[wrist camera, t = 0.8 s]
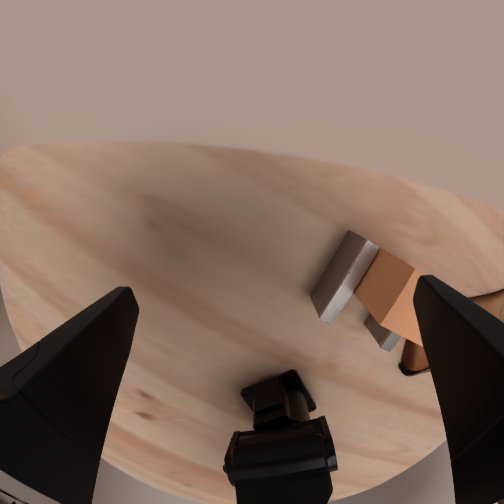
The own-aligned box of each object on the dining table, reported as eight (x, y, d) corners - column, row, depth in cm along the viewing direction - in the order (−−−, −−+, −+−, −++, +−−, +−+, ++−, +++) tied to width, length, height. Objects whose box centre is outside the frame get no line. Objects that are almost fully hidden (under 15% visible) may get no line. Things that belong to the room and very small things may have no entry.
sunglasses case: (513, 282, 26) (534, 323, 21) (490, 314, 31) (506, 352, 26) (408, 302, 27) (428, 359, 22) (388, 336, 32) (402, 386, 27)
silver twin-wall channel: (371, 327, 27) (389, 352, 23) (308, 295, 27) (319, 319, 22) (409, 268, 26) (434, 284, 21) (348, 229, 25) (367, 239, 20)
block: (379, 297, 26) (428, 349, 17) (338, 275, 26) (380, 325, 16) (400, 262, 26) (460, 300, 16) (361, 237, 25) (415, 268, 15)
